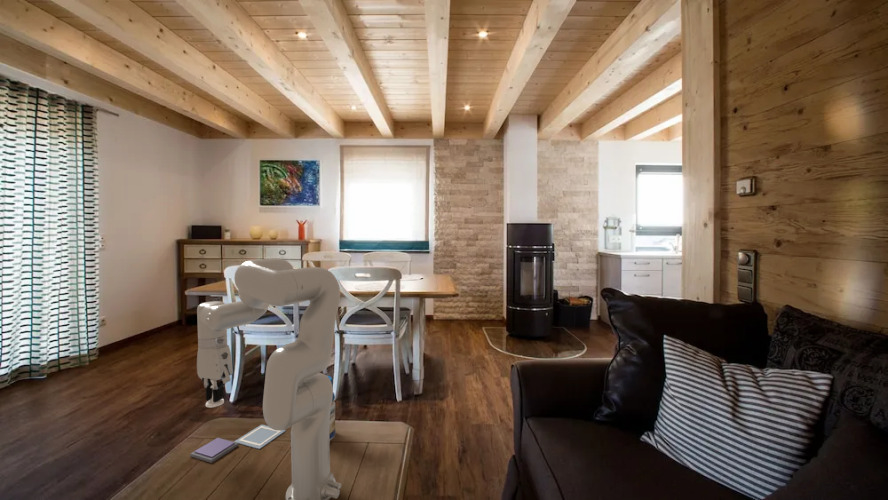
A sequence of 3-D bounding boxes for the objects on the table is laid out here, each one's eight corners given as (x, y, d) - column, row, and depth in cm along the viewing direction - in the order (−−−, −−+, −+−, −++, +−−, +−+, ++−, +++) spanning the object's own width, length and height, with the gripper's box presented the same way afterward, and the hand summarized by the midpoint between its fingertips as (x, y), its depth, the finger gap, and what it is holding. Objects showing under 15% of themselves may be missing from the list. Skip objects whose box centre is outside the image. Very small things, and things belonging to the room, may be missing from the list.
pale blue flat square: (285, 431, 122) (285, 430, 122) (259, 449, 112) (259, 448, 112) (261, 425, 126) (261, 424, 126) (234, 442, 116) (234, 441, 116)
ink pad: (238, 446, 114) (237, 441, 114) (211, 463, 105) (211, 458, 105) (218, 440, 117) (217, 436, 117) (190, 456, 108) (190, 452, 108)
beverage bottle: (321, 428, 124) (320, 372, 123) (341, 432, 121) (340, 376, 120) (303, 441, 116) (302, 382, 115) (324, 446, 113) (324, 386, 113)
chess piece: (215, 408, 108) (214, 376, 107) (201, 406, 109) (200, 375, 108) (228, 400, 112) (227, 370, 112) (214, 399, 113) (213, 369, 113)
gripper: (242, 340, 110) (244, 398, 111) (206, 336, 116) (208, 390, 117) (220, 348, 103) (222, 409, 104) (182, 342, 109) (184, 400, 110)
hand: (214, 398), depth 110 cm, fingers closed on chess piece
